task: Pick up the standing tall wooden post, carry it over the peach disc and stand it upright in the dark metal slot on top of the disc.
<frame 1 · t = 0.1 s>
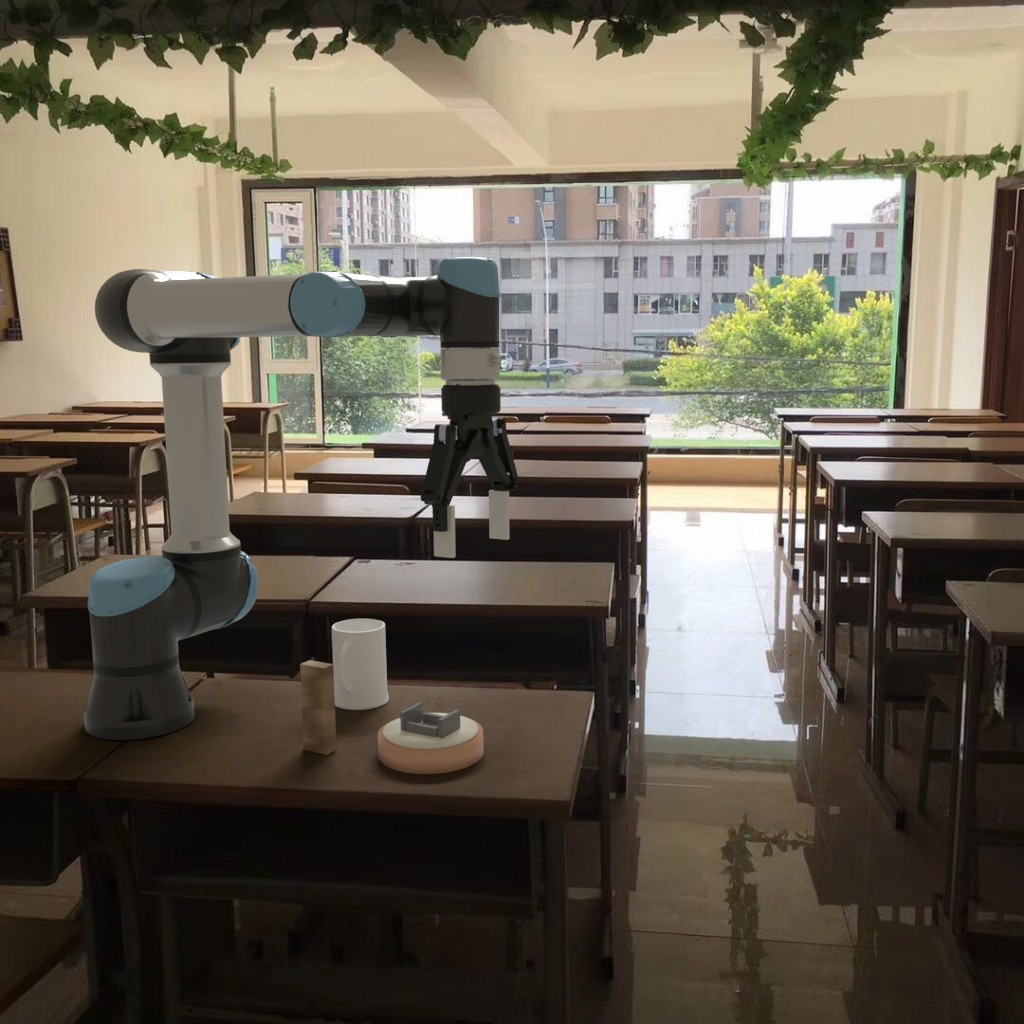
hand: (473, 547, 140), 28 cm above the table, fingers open, 13 cm apart
peach disc: (431, 753, 144), on the table
mug: (355, 705, 163), on the table
tall wooden post: (320, 749, 145), on the table
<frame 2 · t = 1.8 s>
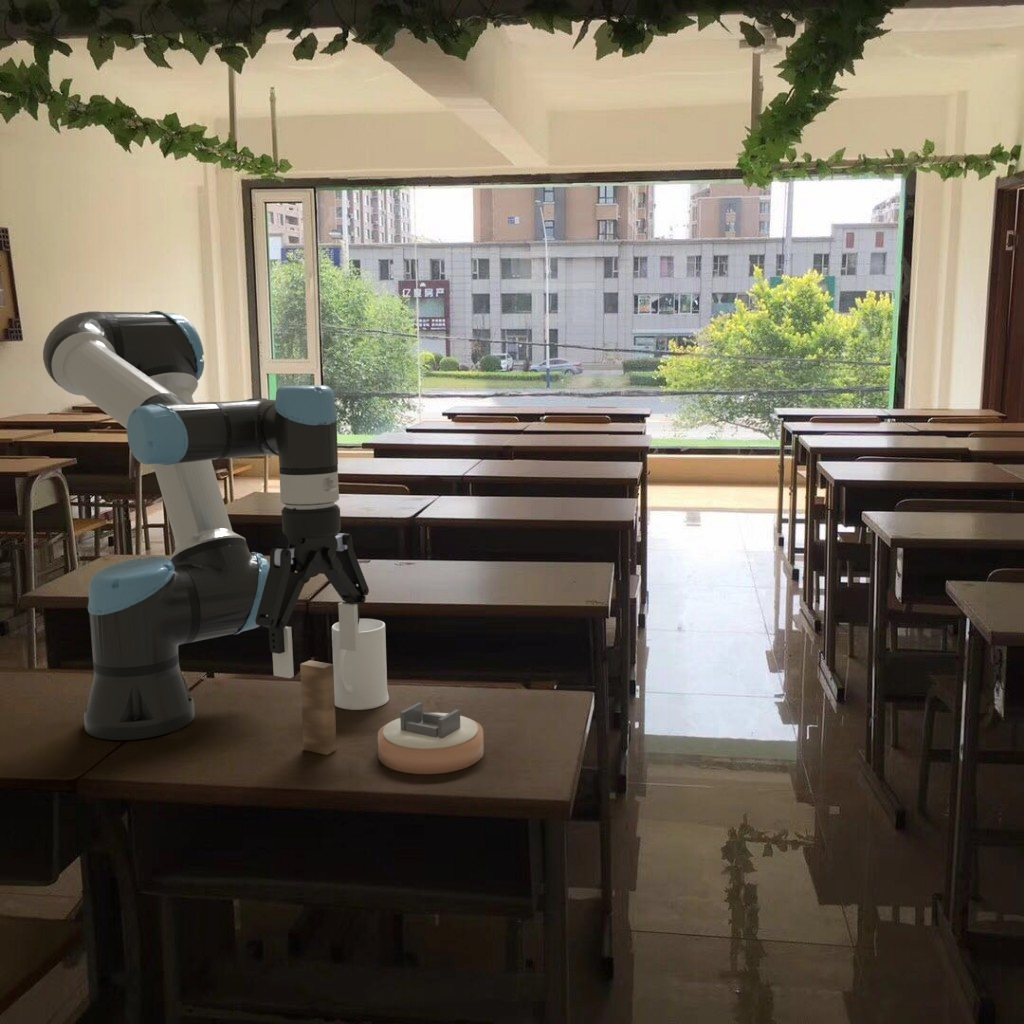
hand: (318, 662, 143), 12 cm above the table, fingers open, 13 cm apart
nothing on the table moved.
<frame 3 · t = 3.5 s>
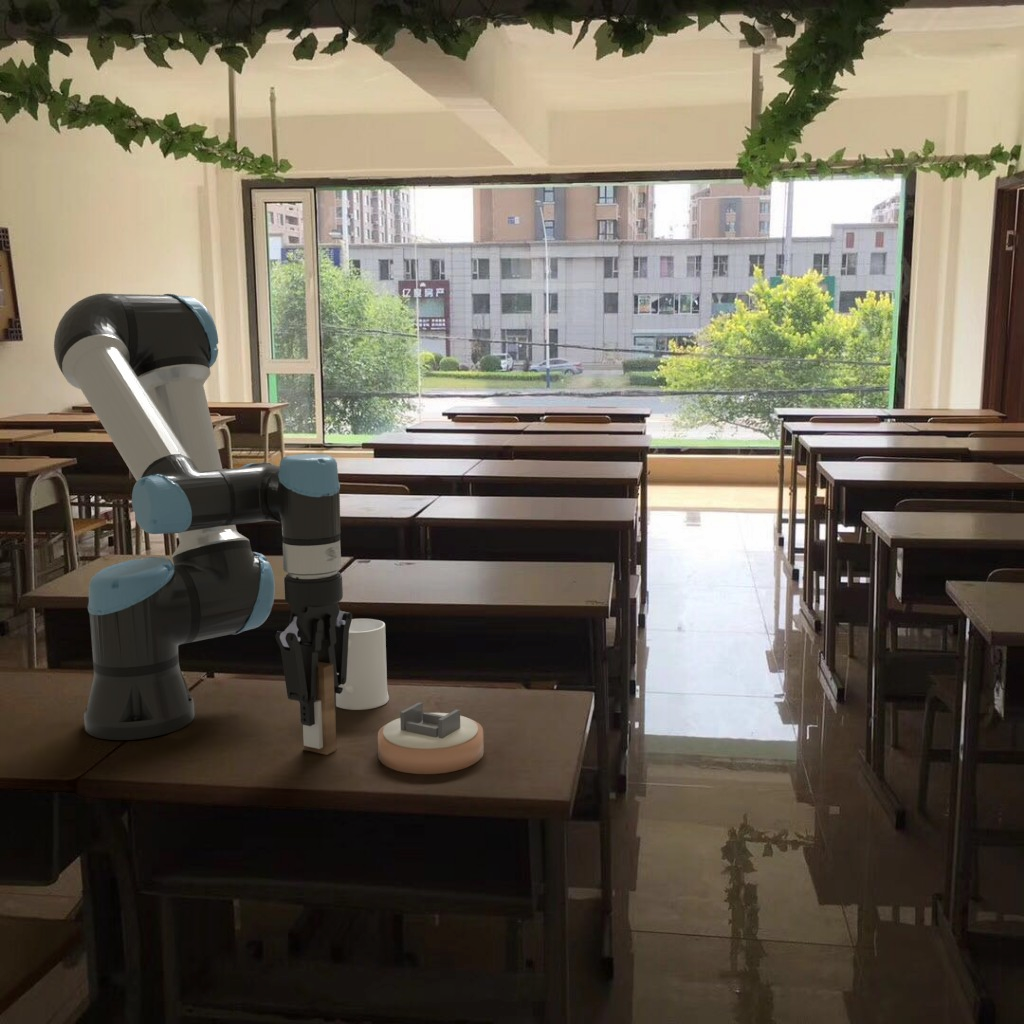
hand: (319, 742, 145), 1 cm above the table, fingers closed on tall wooden post, 2 cm apart
tall wooden post: (320, 749, 145), on the table, touching gripper
everything else where it was.
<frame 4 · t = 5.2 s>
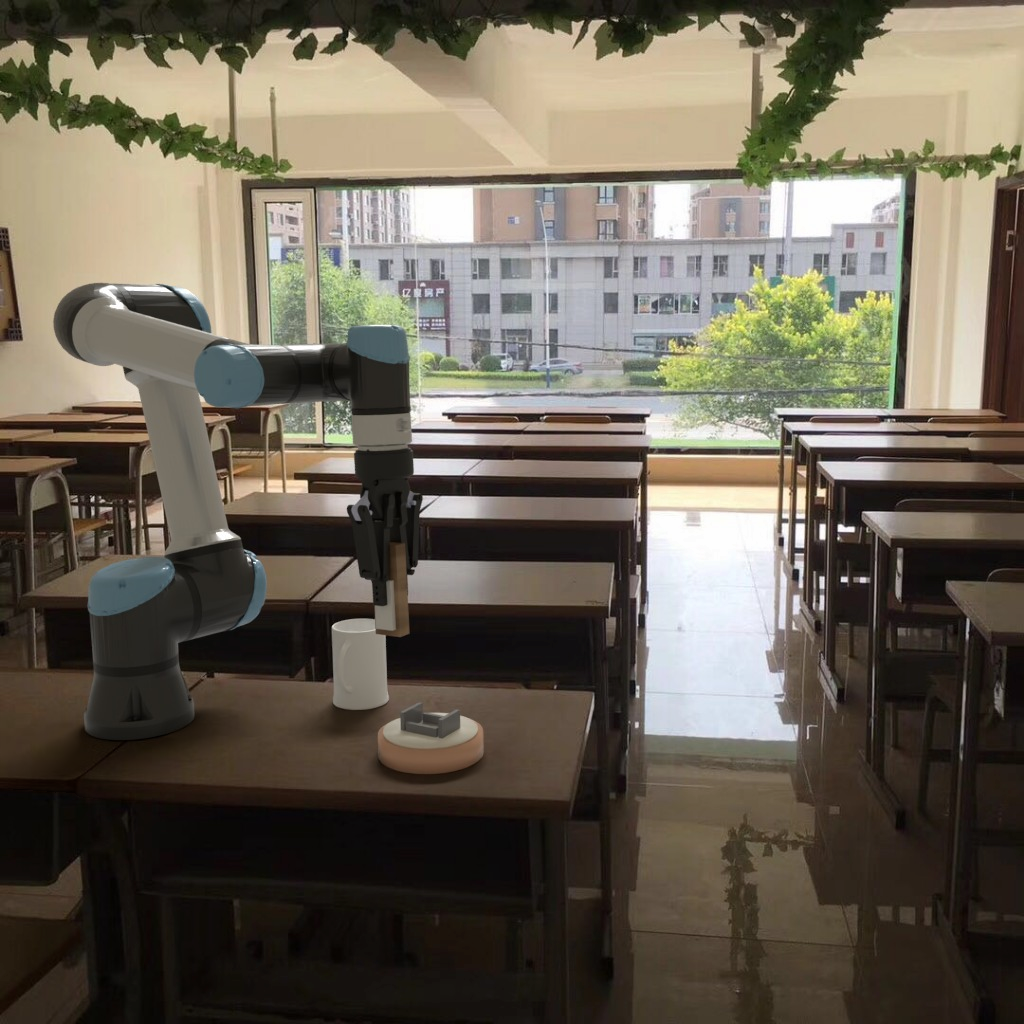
hand: (392, 626, 141), 18 cm above the table, fingers closed on tall wooden post, 2 cm apart
tall wooden post: (392, 633, 141), point 17 cm above the table, touching gripper
everything else where it was.
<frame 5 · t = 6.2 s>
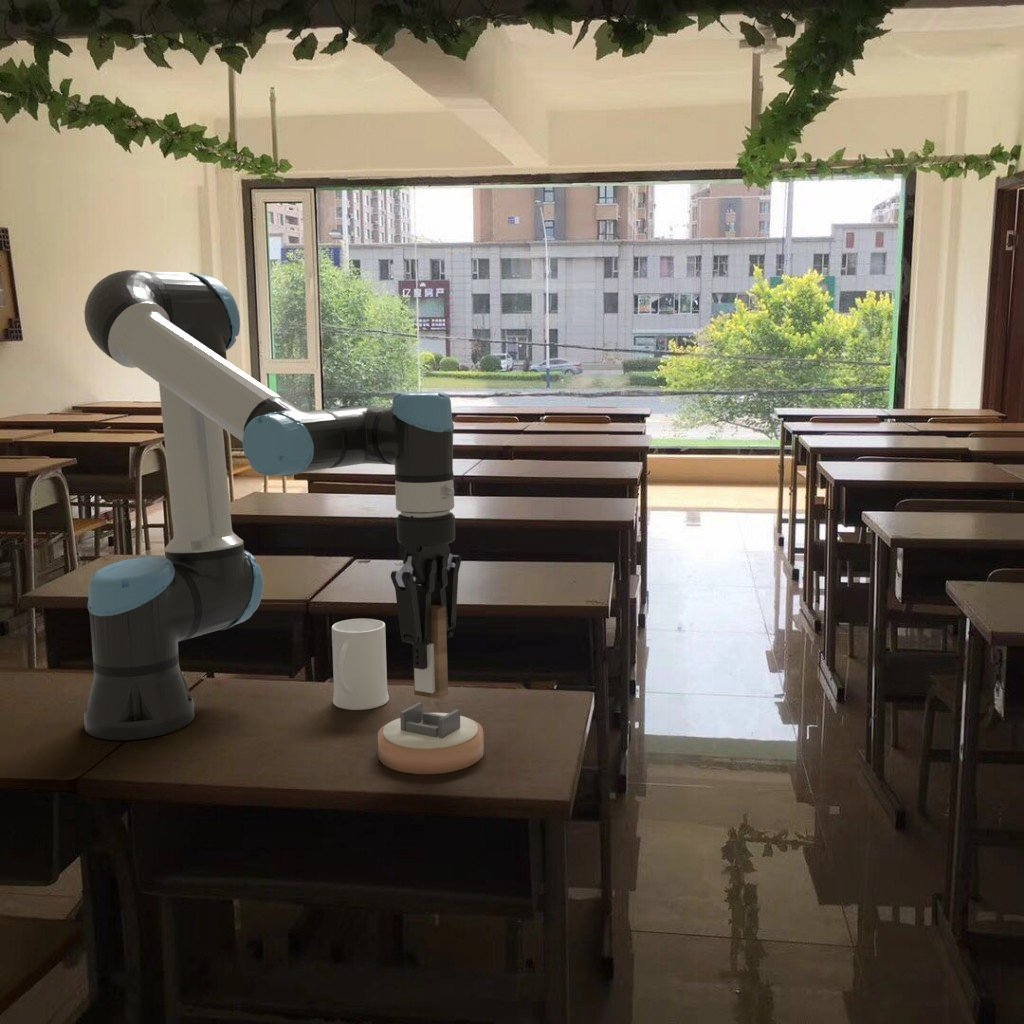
hand: (430, 687, 142), 9 cm above the table, fingers closed on tall wooden post, 2 cm apart
tall wooden post: (431, 694, 142), point 8 cm above the table, touching gripper
everything else where it was.
when the fingers open (6 cm above the table, at t = 7.0 s): tall wooden post drops 1 cm, resting on peach disc.
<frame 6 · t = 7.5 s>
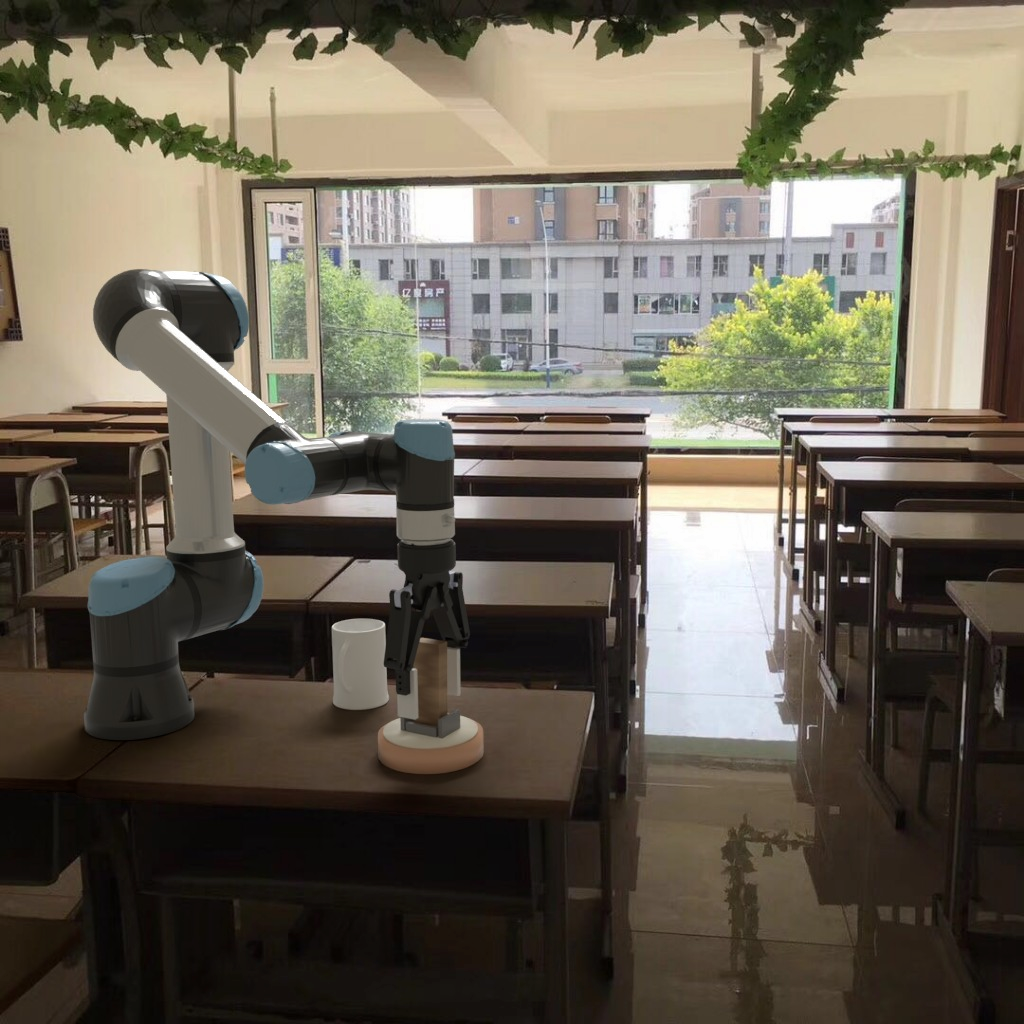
hand: (430, 705, 143), 7 cm above the table, fingers open, 9 cm apart
tall wooden post: (430, 728, 143), point 3 cm above the table, touching peach disc
everything else where it was.
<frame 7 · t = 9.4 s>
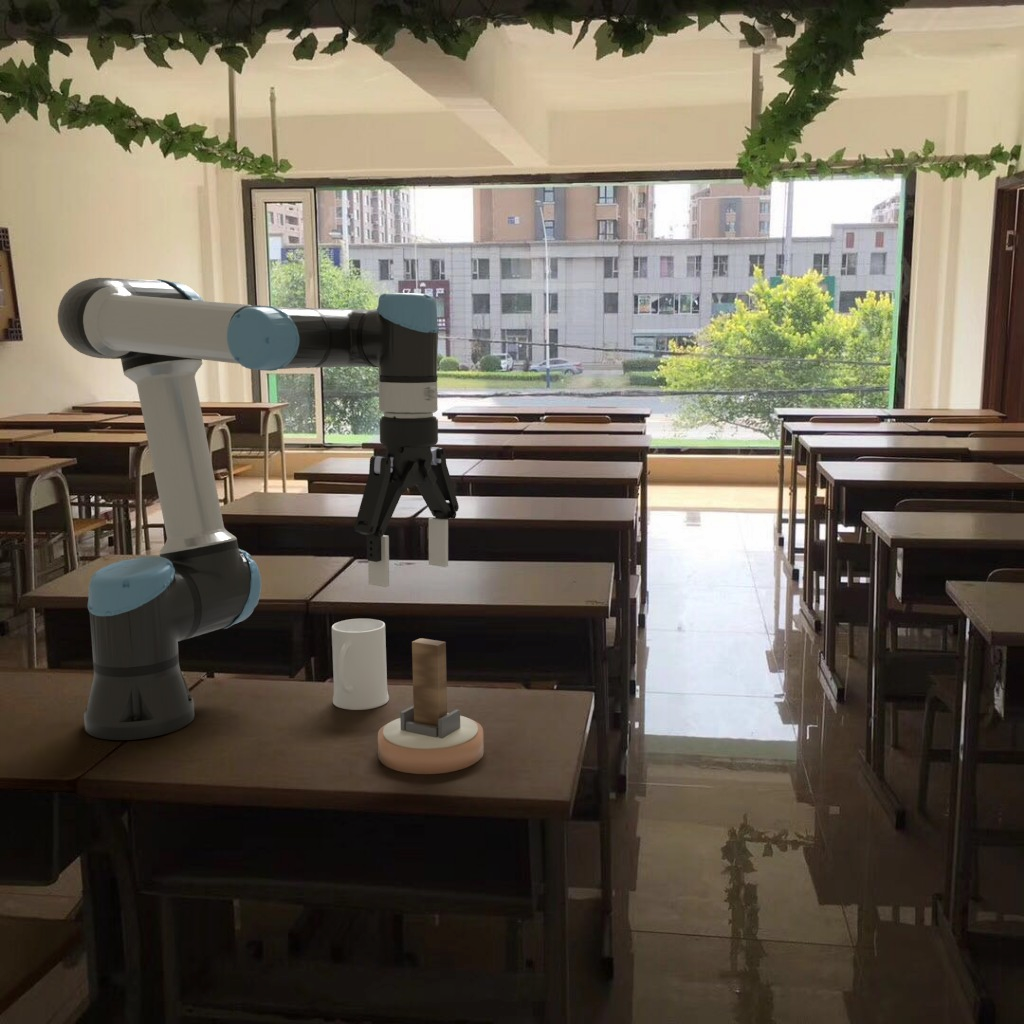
hand: (409, 575, 143), 24 cm above the table, fingers open, 13 cm apart
nothing on the table moved.
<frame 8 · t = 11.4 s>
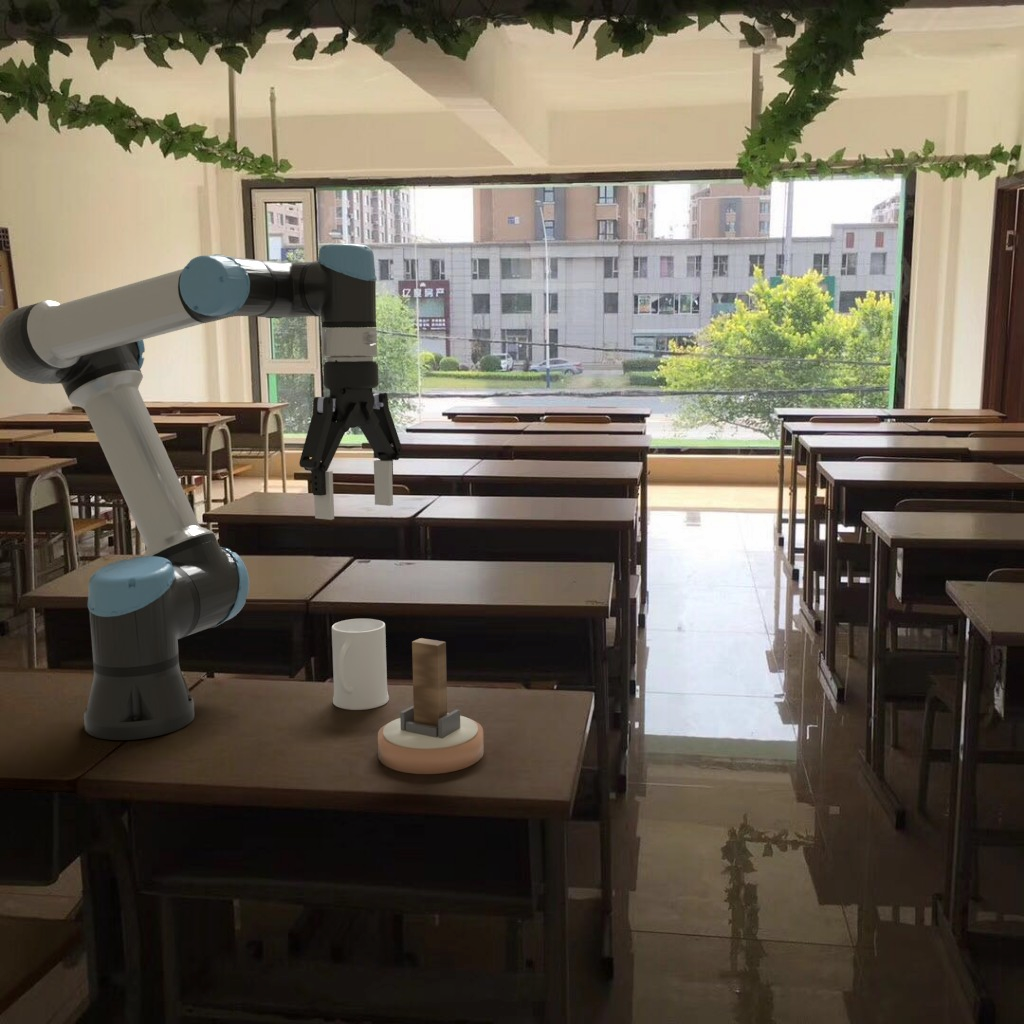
hand: (355, 511, 152), 31 cm above the table, fingers open, 13 cm apart
nothing on the table moved.
at the end: tall wooden post 0.0 cm off-centre on the peach disc, point 3.4 cm above the peach disc's base; tall wooden post tilted 0°; the gripper is holding nothing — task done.
